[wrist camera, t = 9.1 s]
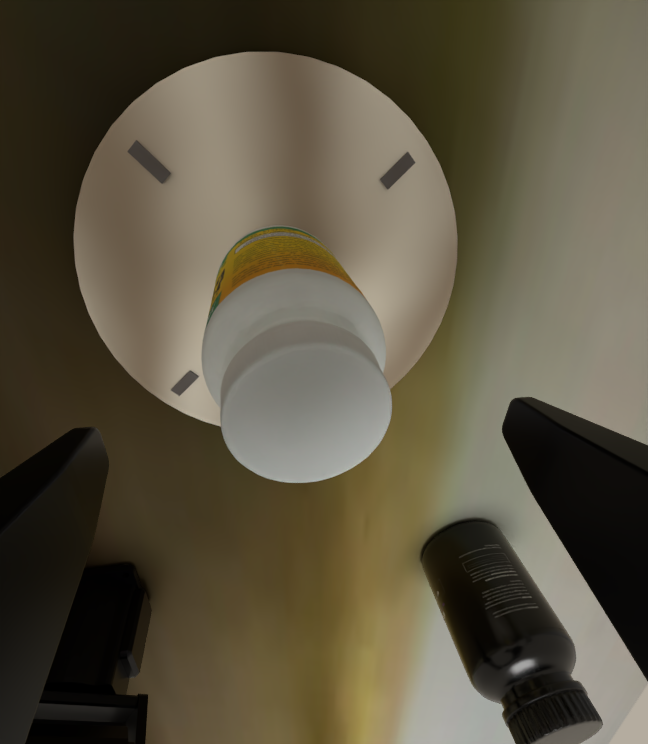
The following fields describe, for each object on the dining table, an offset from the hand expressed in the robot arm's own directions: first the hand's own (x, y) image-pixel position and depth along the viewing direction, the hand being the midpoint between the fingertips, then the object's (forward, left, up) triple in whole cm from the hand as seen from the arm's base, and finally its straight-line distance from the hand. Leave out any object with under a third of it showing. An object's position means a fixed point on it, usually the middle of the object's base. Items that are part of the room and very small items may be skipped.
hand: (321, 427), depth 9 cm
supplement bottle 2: (+14, -22, -12) cm, 29 cm away
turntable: (0, 0, -11) cm, 11 cm away
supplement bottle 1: (0, 0, -10) cm, 10 cm away
